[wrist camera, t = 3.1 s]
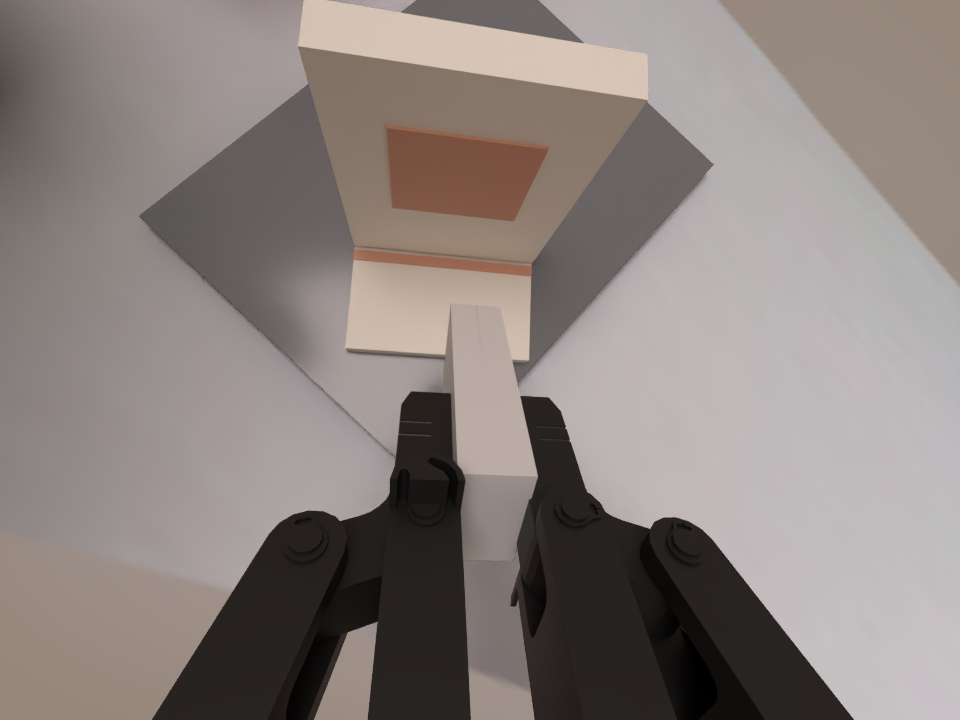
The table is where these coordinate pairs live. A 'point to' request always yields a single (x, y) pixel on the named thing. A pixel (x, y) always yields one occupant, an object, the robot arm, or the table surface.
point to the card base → (431, 300)
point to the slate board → (330, 249)
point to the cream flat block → (461, 126)
